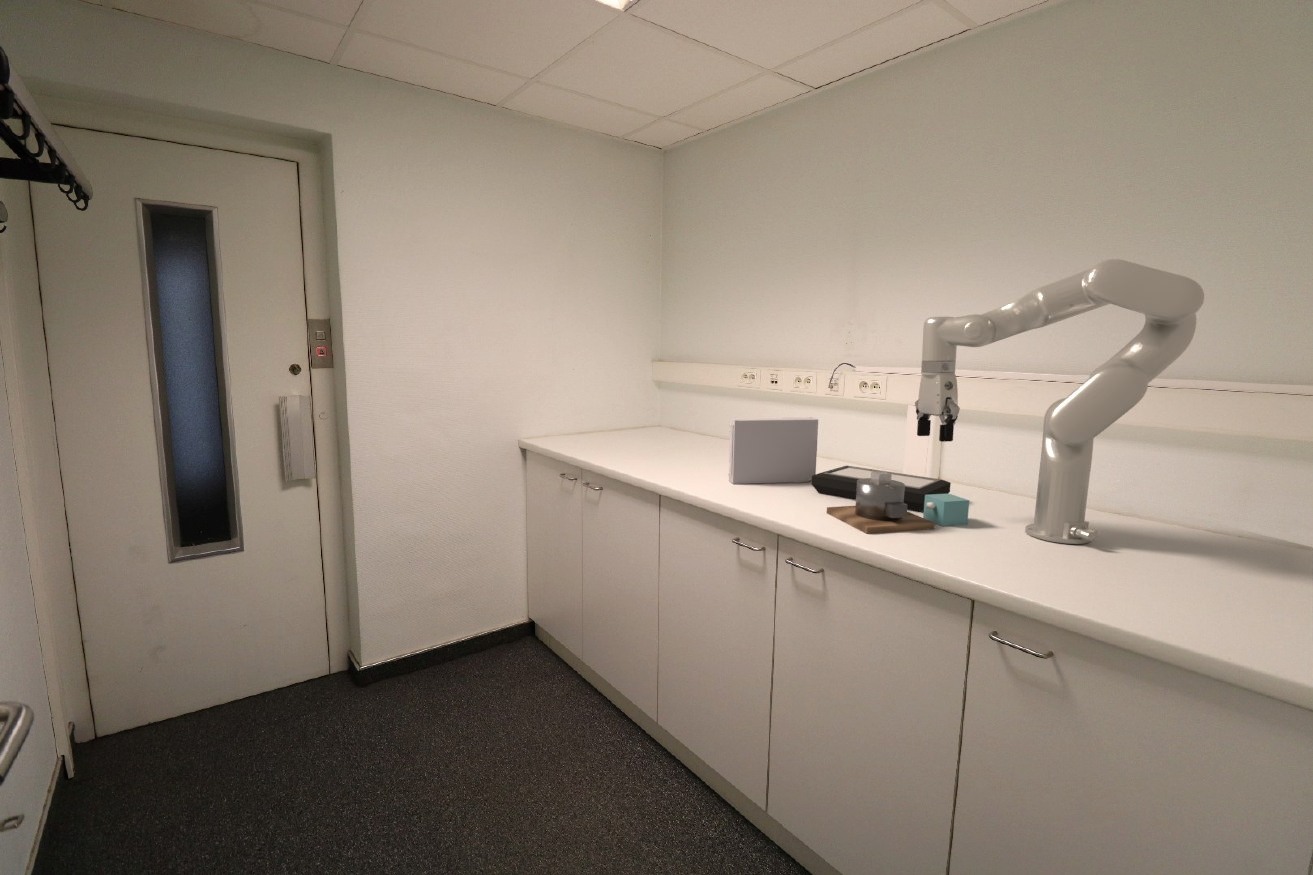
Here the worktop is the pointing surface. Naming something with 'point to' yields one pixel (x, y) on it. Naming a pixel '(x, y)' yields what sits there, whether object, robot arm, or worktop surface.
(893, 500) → the motor
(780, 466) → the upright gray panel box
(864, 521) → the mounting board
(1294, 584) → the worktop surface
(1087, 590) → the worktop surface
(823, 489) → the electronic device
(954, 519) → the block
